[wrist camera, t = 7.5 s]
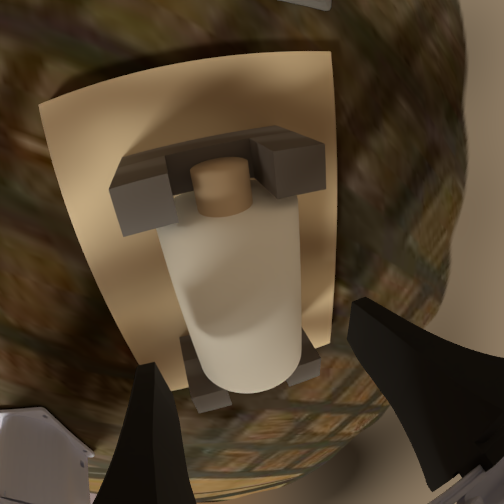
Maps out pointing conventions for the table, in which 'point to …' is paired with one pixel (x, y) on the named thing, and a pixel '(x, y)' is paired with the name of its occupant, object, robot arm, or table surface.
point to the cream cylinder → (237, 275)
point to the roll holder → (179, 181)
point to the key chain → (313, 3)
